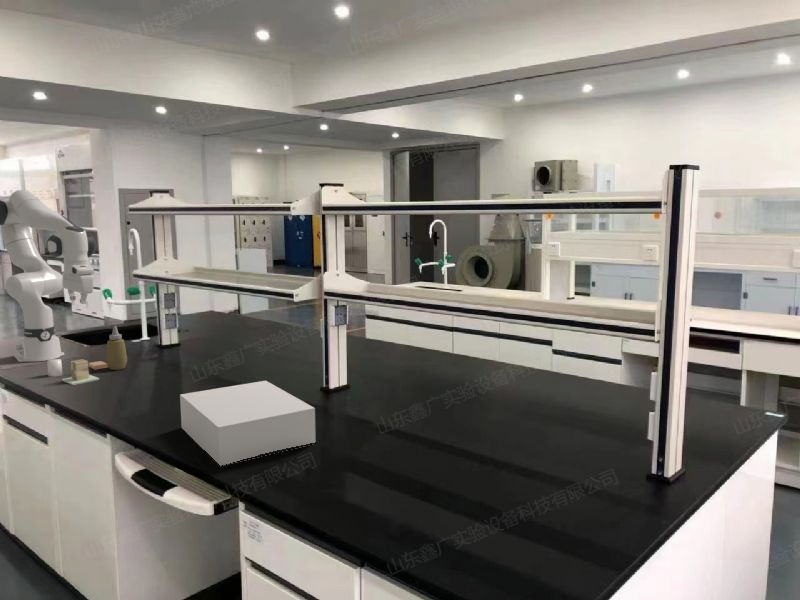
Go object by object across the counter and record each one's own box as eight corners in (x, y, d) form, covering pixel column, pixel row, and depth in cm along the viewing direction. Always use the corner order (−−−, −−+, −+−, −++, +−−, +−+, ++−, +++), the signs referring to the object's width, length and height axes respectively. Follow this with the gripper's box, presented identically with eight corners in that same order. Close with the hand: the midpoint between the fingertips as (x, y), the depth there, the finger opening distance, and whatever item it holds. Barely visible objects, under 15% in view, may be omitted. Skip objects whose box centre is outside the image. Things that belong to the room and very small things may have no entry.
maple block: (72, 378, 240) (70, 361, 239) (84, 376, 243) (82, 359, 242) (77, 380, 237) (75, 363, 236) (89, 378, 241) (87, 361, 240)
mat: (61, 380, 240) (61, 379, 240) (88, 375, 247) (87, 374, 247) (72, 385, 233) (72, 383, 233) (99, 379, 241) (99, 378, 241)
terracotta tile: (88, 367, 262) (88, 363, 261) (100, 365, 265) (100, 361, 265) (95, 370, 257) (94, 365, 257) (107, 368, 261) (107, 363, 260)
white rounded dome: (46, 375, 248) (45, 360, 247) (59, 372, 252) (58, 358, 251) (51, 377, 245) (50, 362, 244) (64, 374, 248) (63, 360, 248)
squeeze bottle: (102, 369, 257) (99, 327, 254) (119, 365, 264) (116, 324, 261) (115, 371, 253) (112, 328, 251) (132, 367, 260) (129, 325, 258)
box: (266, 412, 203) (265, 380, 202) (315, 445, 175) (314, 408, 173) (181, 429, 188) (179, 394, 186) (220, 467, 159) (218, 427, 158)
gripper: (57, 265, 249) (58, 299, 251) (79, 270, 236) (80, 306, 238) (73, 264, 254) (74, 297, 256) (96, 269, 241) (97, 304, 243)
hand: (77, 302), depth 247 cm, fingers open, 8 cm apart
